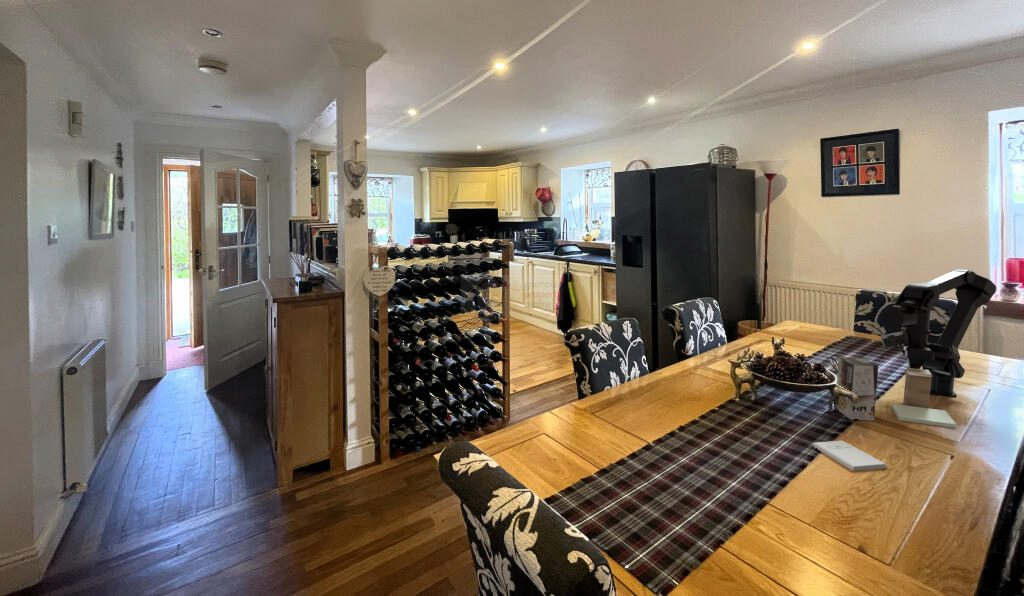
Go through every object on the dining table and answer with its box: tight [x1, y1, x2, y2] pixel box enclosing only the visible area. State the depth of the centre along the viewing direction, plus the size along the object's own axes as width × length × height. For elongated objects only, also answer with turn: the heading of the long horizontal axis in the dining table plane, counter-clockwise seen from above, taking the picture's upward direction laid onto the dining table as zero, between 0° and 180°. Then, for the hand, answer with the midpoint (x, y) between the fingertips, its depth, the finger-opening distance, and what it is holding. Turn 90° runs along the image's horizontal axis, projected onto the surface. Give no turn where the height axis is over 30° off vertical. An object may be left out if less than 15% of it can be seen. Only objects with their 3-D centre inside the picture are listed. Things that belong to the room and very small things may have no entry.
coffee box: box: [836, 356, 879, 422], centre depth 135 cm, size 9×6×16 cm
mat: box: [891, 403, 957, 429], centre depth 132 cm, size 11×12×1 cm
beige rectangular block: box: [902, 367, 932, 409], centre depth 139 cm, size 5×5×11 cm
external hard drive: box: [812, 440, 887, 472], centre depth 112 cm, size 2×8×12 cm
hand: (912, 374), depth 146 cm, fingers closed
